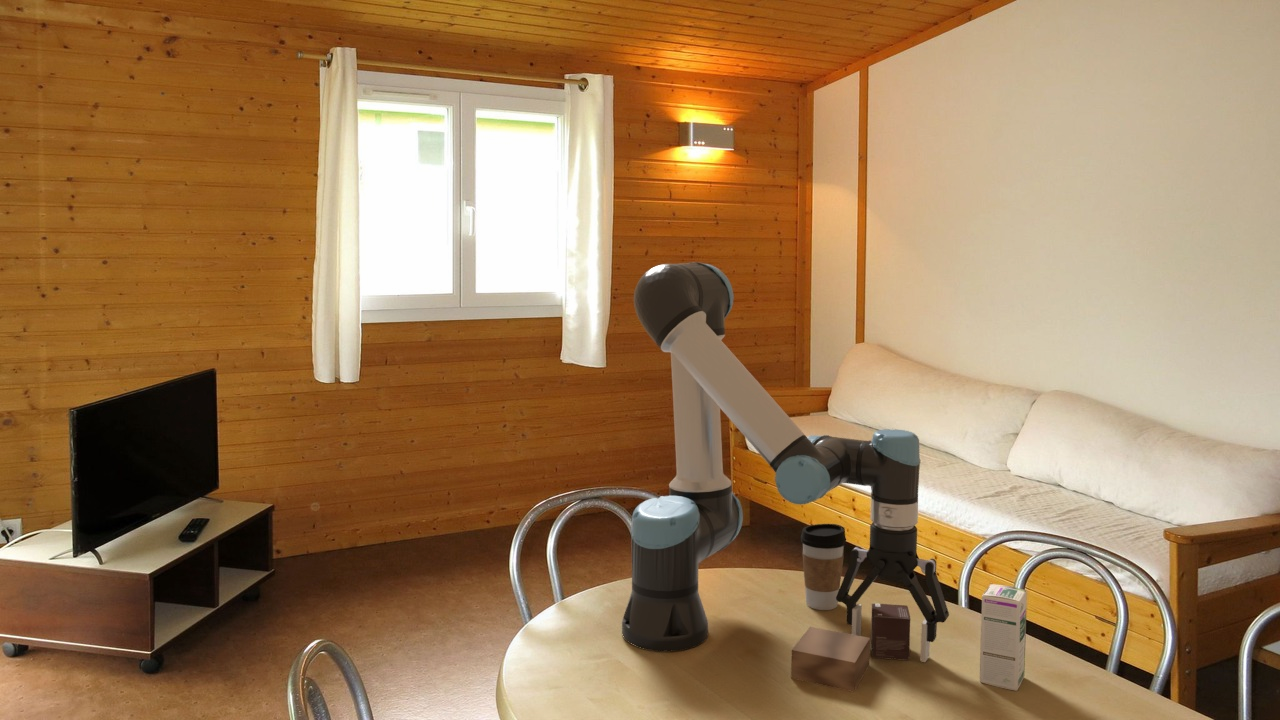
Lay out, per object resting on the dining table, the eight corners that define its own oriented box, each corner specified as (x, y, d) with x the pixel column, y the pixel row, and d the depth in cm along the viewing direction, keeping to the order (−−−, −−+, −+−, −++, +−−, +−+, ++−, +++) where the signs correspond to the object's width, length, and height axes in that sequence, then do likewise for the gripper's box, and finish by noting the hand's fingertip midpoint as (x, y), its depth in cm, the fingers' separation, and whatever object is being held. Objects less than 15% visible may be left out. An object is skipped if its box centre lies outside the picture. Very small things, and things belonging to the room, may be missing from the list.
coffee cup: (848, 613, 172) (850, 534, 171) (803, 612, 173) (804, 534, 171) (839, 595, 181) (841, 521, 179) (796, 595, 181) (797, 521, 179)
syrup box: (1017, 692, 142) (1022, 601, 140) (977, 682, 145) (981, 593, 143) (1024, 677, 147) (1029, 589, 145) (985, 668, 150) (989, 582, 148)
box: (909, 661, 153) (911, 619, 152) (871, 658, 154) (873, 616, 153) (906, 646, 158) (908, 605, 158) (870, 643, 160) (871, 602, 159)
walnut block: (791, 679, 147) (791, 649, 146) (809, 655, 156) (810, 626, 155) (853, 693, 142) (854, 662, 142) (869, 667, 151) (870, 637, 151)
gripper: (818, 519, 156) (815, 643, 159) (961, 541, 144) (956, 675, 147) (833, 508, 162) (830, 628, 165) (972, 528, 151) (966, 657, 153)
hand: (889, 650), depth 156 cm, fingers open, 11 cm apart
